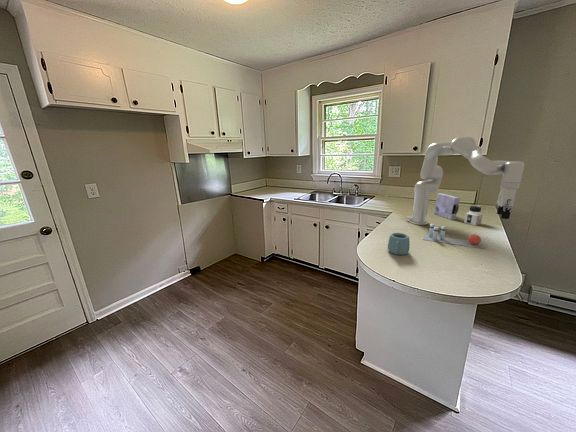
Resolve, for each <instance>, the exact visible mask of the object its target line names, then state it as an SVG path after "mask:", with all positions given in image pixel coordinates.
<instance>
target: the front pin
mask: <svg viewBox="0 0 576 432" xmlns="http://www.w3.org/2000/svg"><path fill="white" fill-rule="evenodd" d="M440 228H441V229H440V233H439V237H440V240H444V237H446V236H445V235H446V231H447V226H443V225H442V226H441V227H440Z"/></svg>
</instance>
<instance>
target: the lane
mask: <svg viewBox="0 0 576 432" xmlns="http://www.w3.org/2000/svg"><path fill="white" fill-rule="evenodd" d="M422 240H424V241H429V242H435V243H436V242H437V243H443V244H451V245H457V246H463V247H469V248H475V249H477V248H478V249H484V246H483V243H482V241H481V242H480V243H479V244H477V245H473V244H471V243H470V242H469V241H468V239H467V240H466V239H459V238H453V237H451V238H450V237H446V236H445V237H444V240H440V235H439V236H438V235H437V241H433V240H432V237H429V234H423V238H422Z"/></svg>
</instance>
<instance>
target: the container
mask: <svg viewBox="0 0 576 432" xmlns="http://www.w3.org/2000/svg"><path fill="white" fill-rule="evenodd" d="M481 211H482V207H481V206H479V205H470V207H469V211H468V212H465V216H464V224H468V225H473V226H478V225H481V224H482V220H483V216H484V214H483V213H481Z"/></svg>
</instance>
